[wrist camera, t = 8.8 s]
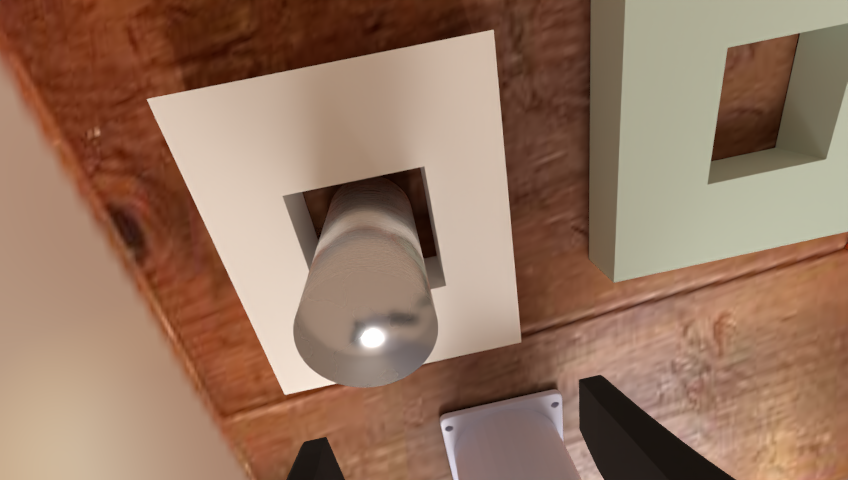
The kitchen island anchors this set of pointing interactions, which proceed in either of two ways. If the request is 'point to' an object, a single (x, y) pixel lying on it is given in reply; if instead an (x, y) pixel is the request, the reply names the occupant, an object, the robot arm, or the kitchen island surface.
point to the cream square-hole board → (349, 161)
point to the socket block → (709, 134)
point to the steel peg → (367, 290)
